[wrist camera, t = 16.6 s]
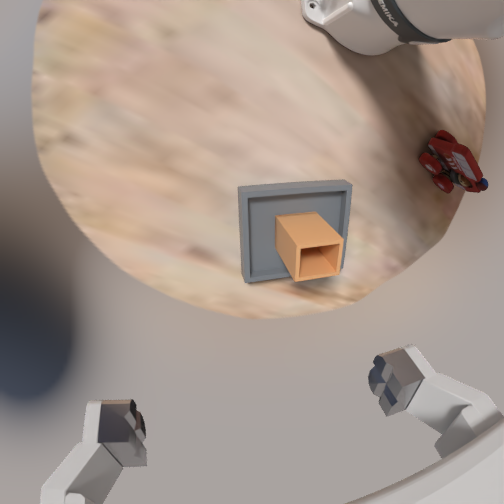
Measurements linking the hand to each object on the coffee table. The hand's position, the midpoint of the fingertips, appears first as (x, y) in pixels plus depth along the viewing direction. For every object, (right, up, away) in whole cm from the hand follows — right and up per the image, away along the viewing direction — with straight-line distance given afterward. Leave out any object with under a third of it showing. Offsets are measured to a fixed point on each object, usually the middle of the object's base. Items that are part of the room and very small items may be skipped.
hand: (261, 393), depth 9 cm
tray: (+6, +8, +37) cm, 38 cm away
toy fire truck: (+31, +20, +37) cm, 52 cm away
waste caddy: (+6, +8, +36) cm, 37 cm away
